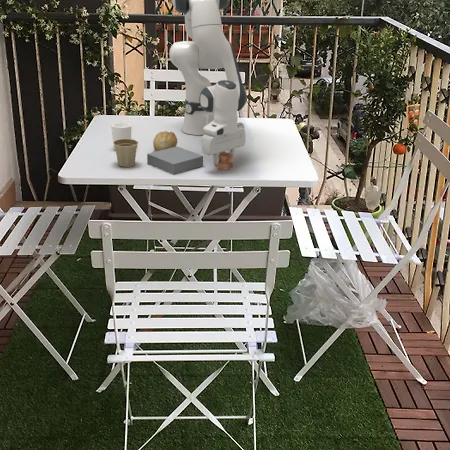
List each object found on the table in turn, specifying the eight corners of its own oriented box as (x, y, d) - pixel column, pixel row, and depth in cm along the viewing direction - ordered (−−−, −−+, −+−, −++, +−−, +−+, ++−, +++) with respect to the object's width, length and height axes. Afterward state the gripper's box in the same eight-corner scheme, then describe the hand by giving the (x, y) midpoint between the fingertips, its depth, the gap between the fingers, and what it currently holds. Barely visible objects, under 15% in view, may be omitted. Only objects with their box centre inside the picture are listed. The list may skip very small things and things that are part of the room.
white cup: (128, 152, 234) (127, 128, 230) (109, 150, 235) (108, 126, 231) (134, 147, 241) (134, 123, 237) (116, 145, 242) (115, 121, 238)
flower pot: (127, 170, 216) (127, 147, 212) (108, 165, 220) (107, 142, 217) (144, 163, 223) (143, 141, 220) (125, 158, 228) (124, 137, 224)
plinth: (176, 155, 233) (177, 146, 231) (203, 165, 224) (203, 155, 222) (147, 163, 223) (147, 153, 222) (173, 174, 214) (173, 164, 212)
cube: (223, 163, 227) (223, 151, 225) (232, 167, 224) (233, 154, 222) (214, 166, 224) (214, 153, 222) (223, 169, 221) (224, 157, 219)
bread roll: (177, 146, 245) (177, 127, 242) (176, 157, 232) (176, 138, 228) (154, 145, 245) (154, 126, 241) (152, 156, 231) (152, 137, 228)
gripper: (238, 119, 226) (236, 153, 232) (199, 128, 213) (198, 164, 219) (250, 123, 222) (248, 158, 228) (211, 132, 209) (210, 169, 215)
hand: (223, 161), depth 223 cm, fingers closed on cube, 5 cm apart
